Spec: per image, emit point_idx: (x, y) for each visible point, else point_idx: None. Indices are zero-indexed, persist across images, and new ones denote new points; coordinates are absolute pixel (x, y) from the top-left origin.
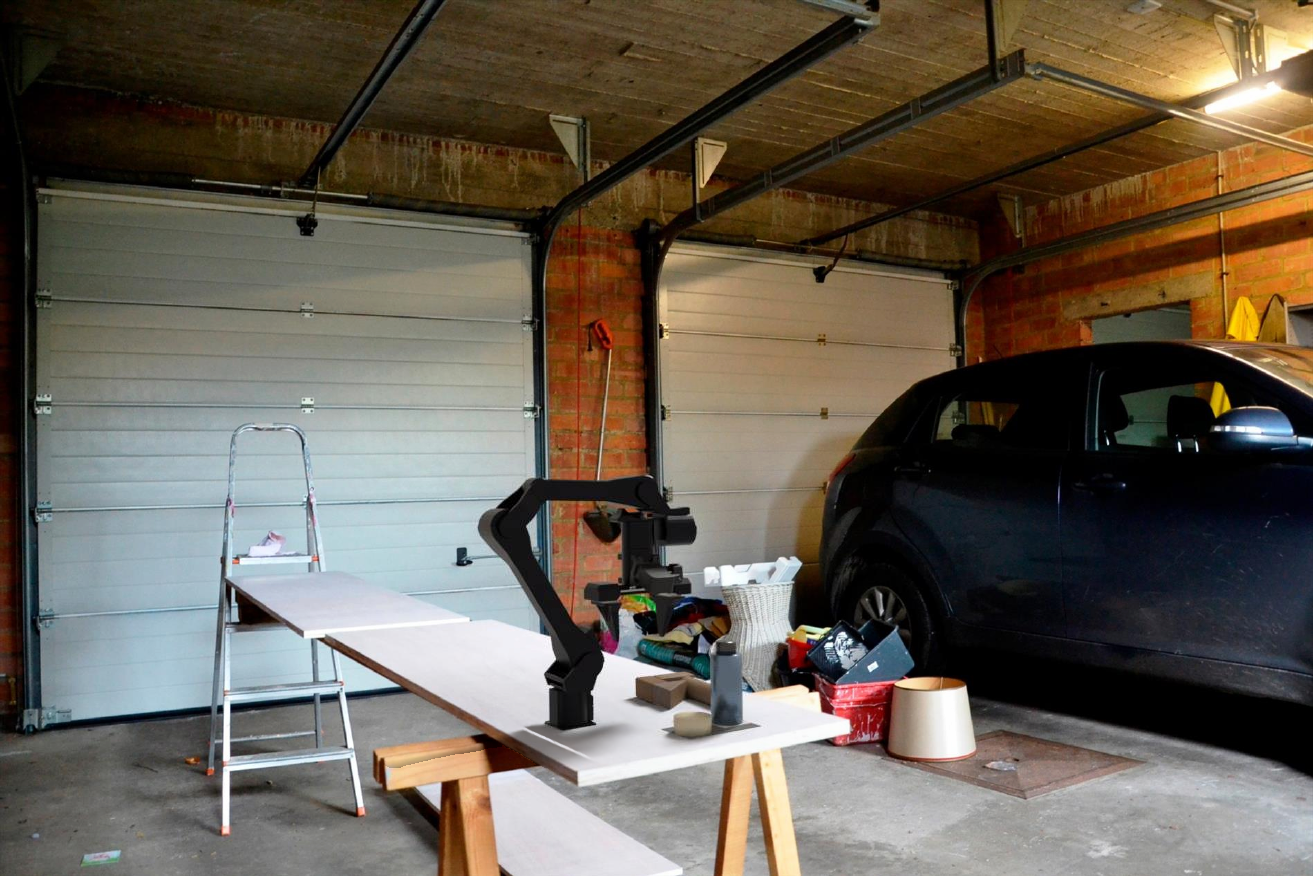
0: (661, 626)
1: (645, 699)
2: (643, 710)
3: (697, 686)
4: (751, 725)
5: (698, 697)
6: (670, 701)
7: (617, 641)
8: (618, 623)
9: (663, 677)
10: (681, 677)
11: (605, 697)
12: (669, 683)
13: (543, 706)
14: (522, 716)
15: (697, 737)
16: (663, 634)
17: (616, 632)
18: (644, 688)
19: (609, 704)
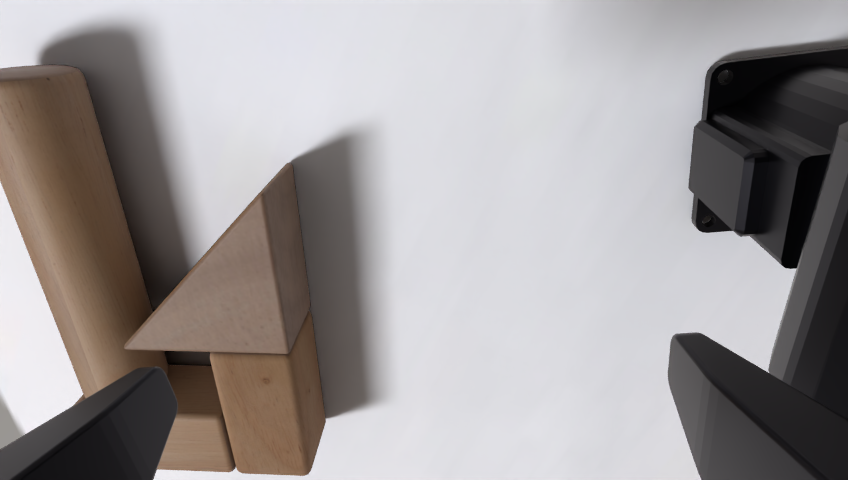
0: (108, 456)
1: (316, 358)
2: (383, 237)
3: (98, 268)
4: None
5: (125, 227)
6: (277, 175)
7: (696, 333)
8: (831, 468)
9: (203, 425)
10: None
11: (422, 458)
12: (215, 322)
13: (668, 453)
14: None
15: None
16: (140, 375)
17: (776, 384)
18: (307, 390)
19: (456, 375)
